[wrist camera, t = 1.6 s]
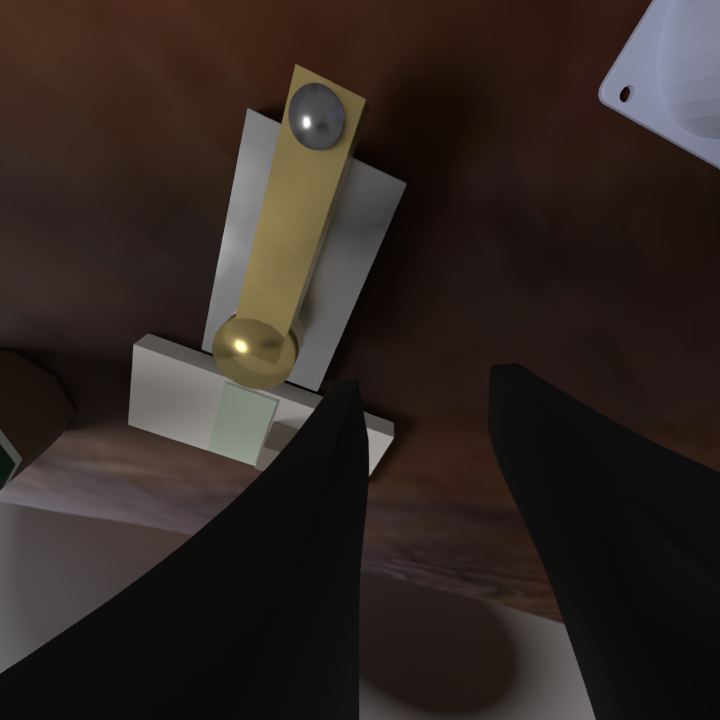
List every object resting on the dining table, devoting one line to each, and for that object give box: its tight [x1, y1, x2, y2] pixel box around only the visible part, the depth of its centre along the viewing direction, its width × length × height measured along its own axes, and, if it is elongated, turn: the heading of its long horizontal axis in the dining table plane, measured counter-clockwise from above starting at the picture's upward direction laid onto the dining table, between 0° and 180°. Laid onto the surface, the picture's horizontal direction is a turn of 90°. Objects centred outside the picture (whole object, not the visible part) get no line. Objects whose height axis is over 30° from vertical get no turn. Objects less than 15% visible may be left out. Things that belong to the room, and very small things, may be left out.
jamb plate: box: [202, 109, 407, 391], centre depth 17 cm, size 7×12×2 cm, turn 158°
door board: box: [128, 333, 394, 476], centre depth 22 cm, size 16×6×4 cm, turn 68°
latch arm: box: [212, 64, 369, 390], centre depth 14 cm, size 4×12×3 cm, turn 158°
